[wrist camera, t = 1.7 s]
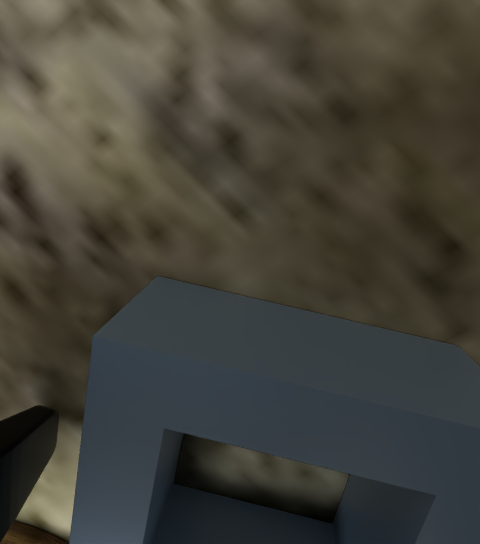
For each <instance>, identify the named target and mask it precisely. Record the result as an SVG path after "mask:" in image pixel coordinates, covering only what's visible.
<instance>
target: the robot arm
mask: <svg viewBox="0 0 480 544" xmlns="http://www.w3.org/2000/svg"><path fill="white" fill-rule="evenodd" d="M58 421H59V413H58V411H57V410H56V409H54V408H50V407H46V406H41V405H38V406H34V407H32V408H30V409H27V410H25V411H23V412H20V413H18V414H16V415H13V416H11V417H8V418H6V419H4V420H1V421H0V542H1V541H2V539H3V538H4V536H5V535H6V533H7V532H8V530H9V529H10V527H11V525H12V524H13V522H14V520H15V519H16V517H17V515H18V514H19V512H20V510H21V508H22V507H23V505H24V503H25V501H26V500H27V498H28V496H29V495H30V493H31V491H32V489H33V488H34V486H35V484H36V482H37V481H38V479H39V477H40V475H41V474H42V472H43V470H44V468H45V467H46V465H47V463H48V462H49V460H50V458H51V456H52V454H53V452H54V450H55V447H56V442H57V432H58Z"/></svg>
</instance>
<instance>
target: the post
mask: <svg viewBox="0 0 480 544" xmlns="http://www.w3.org/2000/svg"><path fill="white" fill-rule="evenodd" d="M0 544H69V543H67V542H65V541H63V540H61V539H59V538H57V537H56V536H53V535H51V534H49V533H46V532H44V531H41V530H39V529H37V528H34V527H31V526H28V525H25V524H21V523H18V522H15V521H14V522H13V524H12V525H11V527H10V529H9V530H8V532H7V533H6V535H5V536H4V538H3V539H2V541H1V542H0Z"/></svg>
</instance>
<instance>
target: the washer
mask: <svg viewBox="0 0 480 544" xmlns="http://www.w3.org/2000/svg"><path fill="white" fill-rule="evenodd" d="M183 433H185V434H189V435H193V436H197V437H201V438H205V439H209V440H213V441H218V442H222V443H226V444H230V445H234V446H238V447H242V448H246V449H250V450H254V451H258V452H262V453H266V454H270V455H274V456H278V457H282V458H287V459H291V460H295V461H299V462H303V463H307V464H311V465H315V466H319V467H323V468H327V469H331V470H335V471H339V472H343V473H347V474H350V476H349V479H348V482H347V485H346V487H345V490H344V493H343V496H342V499H341V501H340V504H339V507H338V510H337V513H336V515H335V518H334V521H333V524H332V523H328V522H324V521H320V520H316V519H312V518H308V517H304V516H300V515H296V514H292V513H288V512H284V511H280V510H276V509H272V508H268V507H264V506H260V505H256V504H252V503H248V502H244V501H240V500H236V499H232V498H228V497H224V496H220V495H216V494H212V493H208V492H204V491H200V490H196V489H192V488H188V487H184V486H180V485H176V484H173V483H174V478H175V473H176V468H177V463H178V458H179V453H180V448H181V443H182V438H183ZM69 544H480V367H479V366H478V365H477V364H476V363H475V362H474V361H473V360H472V359H471V358H470V357H469V356H468V355H467V354H466V353H465V352H464V351H463V350H462V349H461V348H460V347H459V346H457V345H453V344H448V343H444V342H440V341H435V340H431V339H427V338H423V337H418V336H414V335H410V334H405V333H401V332H397V331H393V330H388V329H384V328H380V327H375V326H371V325H367V324H362V323H358V322H354V321H350V320H345V319H341V318H337V317H332V316H328V315H324V314H319V313H315V312H311V311H307V310H302V309H298V308H294V307H289V306H285V305H281V304H277V303H272V302H268V301H264V300H259V299H255V298H251V297H246V296H242V295H238V294H234V293H229V292H225V291H221V290H216V289H212V288H208V287H204V286H199V285H195V284H191V283H186V282H182V281H178V280H173V279H169V278H165V277H161V276H157V277H156V278H154V279H153V280H152V281H151V282H150V283H149V284H148V285H147V286H146V287H145V288H144V289H143V290H142V291H140V292H139V293H138V294H137V295H136V296H135V297H134V298H133V299H132V300H131V301H130V302H129V303H128V304H127V305H125V306H124V307H123V308H122V309H121V310H120V311H119V312H118V313H117V314H116V315H115V316H114V317H113V318H111V319H110V320H109V321H108V322H107V323H106V324H105V325H104V326H103V327H102V328H101V329H100V330H99V331H98V332H96V333H95V334H94V335H93V340H92V349H91V358H90V366H89V375H88V384H87V393H86V402H85V410H84V419H83V428H82V437H81V445H80V454H79V463H78V472H77V480H76V489H75V498H74V507H73V515H72V524H71V533H70V542H69Z"/></svg>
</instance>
